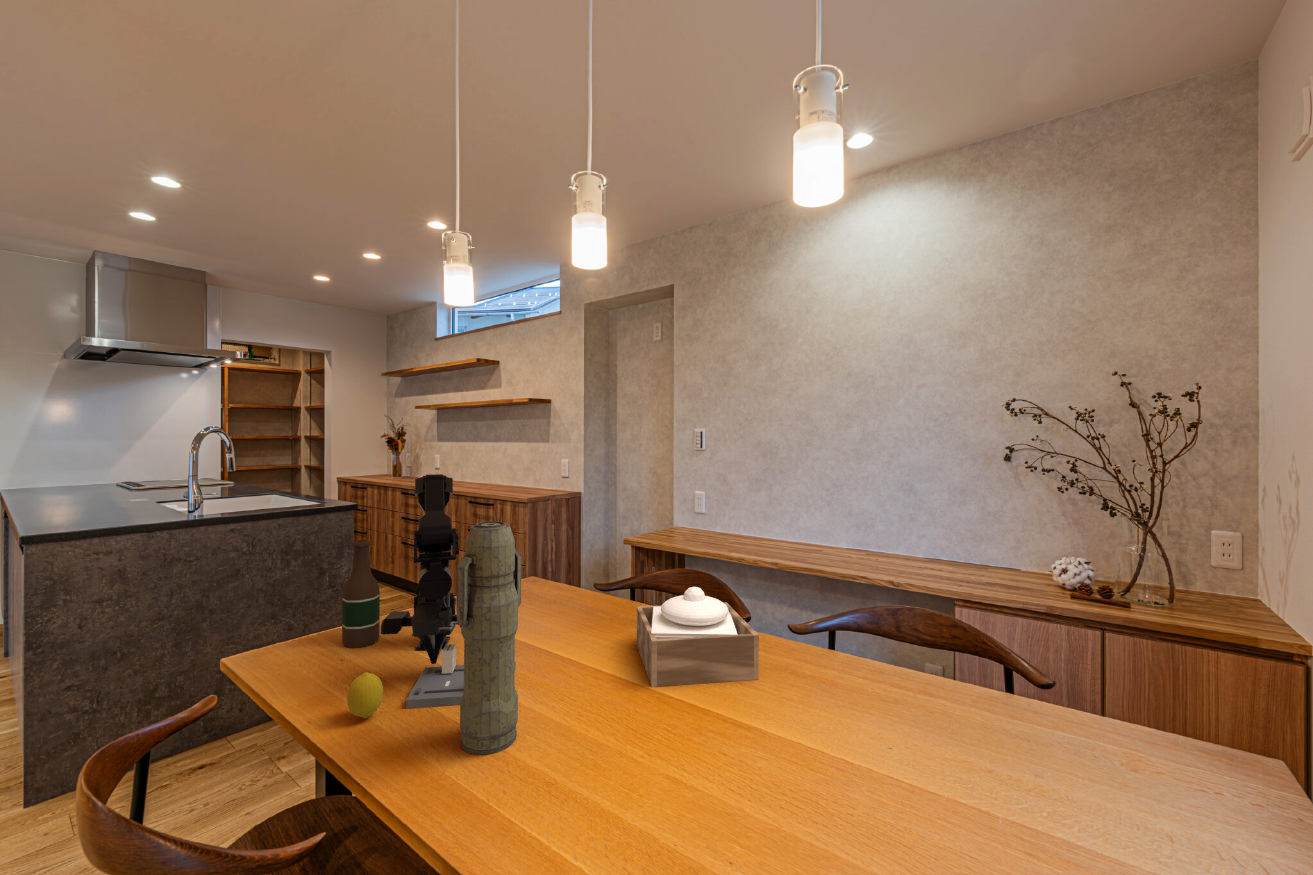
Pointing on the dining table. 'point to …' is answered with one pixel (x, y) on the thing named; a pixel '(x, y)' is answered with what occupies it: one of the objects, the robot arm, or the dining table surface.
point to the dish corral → (697, 654)
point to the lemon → (365, 695)
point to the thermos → (489, 637)
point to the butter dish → (692, 617)
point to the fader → (448, 658)
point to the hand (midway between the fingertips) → (434, 663)
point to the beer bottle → (360, 601)
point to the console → (437, 688)
